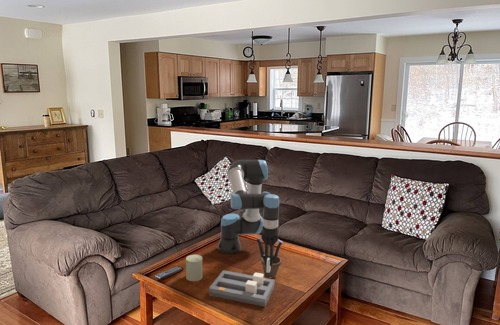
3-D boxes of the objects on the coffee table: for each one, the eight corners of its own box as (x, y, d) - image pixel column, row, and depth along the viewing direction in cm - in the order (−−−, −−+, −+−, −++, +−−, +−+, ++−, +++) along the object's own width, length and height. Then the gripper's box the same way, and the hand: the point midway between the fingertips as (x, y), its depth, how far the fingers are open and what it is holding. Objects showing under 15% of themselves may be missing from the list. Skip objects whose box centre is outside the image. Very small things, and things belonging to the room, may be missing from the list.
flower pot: (284, 278, 212) (285, 261, 210) (266, 282, 207) (267, 265, 205) (273, 268, 222) (274, 253, 220) (257, 272, 217) (257, 256, 215)
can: (194, 283, 203) (194, 262, 201) (182, 277, 209) (182, 257, 206) (205, 276, 210) (206, 257, 208) (194, 271, 216) (194, 252, 213)
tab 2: (254, 282, 202) (255, 272, 200) (263, 284, 200) (264, 273, 199) (252, 286, 198) (252, 275, 197) (261, 287, 196) (262, 277, 195)
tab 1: (247, 290, 194) (247, 280, 192) (256, 292, 192) (257, 281, 191) (245, 294, 190) (245, 283, 189) (254, 296, 188) (255, 285, 187)
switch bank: (223, 276, 211) (223, 269, 210) (274, 286, 202) (274, 279, 202) (208, 295, 192) (209, 287, 191) (265, 306, 184) (265, 299, 183)
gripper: (255, 227, 179) (253, 272, 184) (281, 231, 175) (279, 277, 180) (259, 222, 186) (257, 265, 191) (285, 225, 182) (282, 270, 187)
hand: (268, 271), depth 185 cm, fingers closed
